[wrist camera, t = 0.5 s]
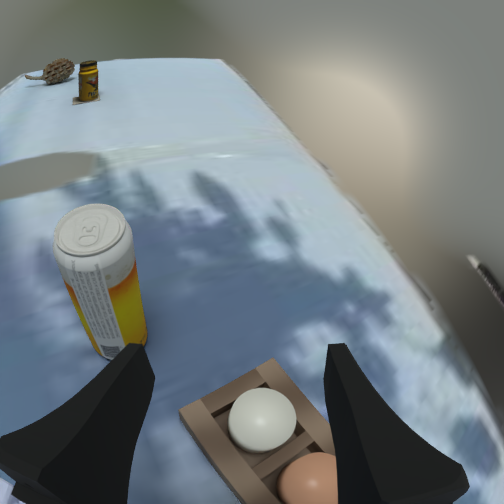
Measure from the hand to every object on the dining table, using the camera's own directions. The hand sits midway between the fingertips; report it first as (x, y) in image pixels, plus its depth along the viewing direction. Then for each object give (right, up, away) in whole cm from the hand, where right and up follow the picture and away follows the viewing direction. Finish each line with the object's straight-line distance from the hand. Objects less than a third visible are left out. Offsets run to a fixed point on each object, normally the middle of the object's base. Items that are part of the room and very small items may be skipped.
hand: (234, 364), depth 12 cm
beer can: (-13, -5, +18) cm, 23 cm away
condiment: (-48, +49, +65) cm, 95 cm away
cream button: (+1, -10, +12) cm, 16 cm away
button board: (+5, -16, +10) cm, 20 cm away
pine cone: (-76, +67, +77) cm, 127 cm away
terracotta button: (+5, -15, +9) cm, 18 cm away
